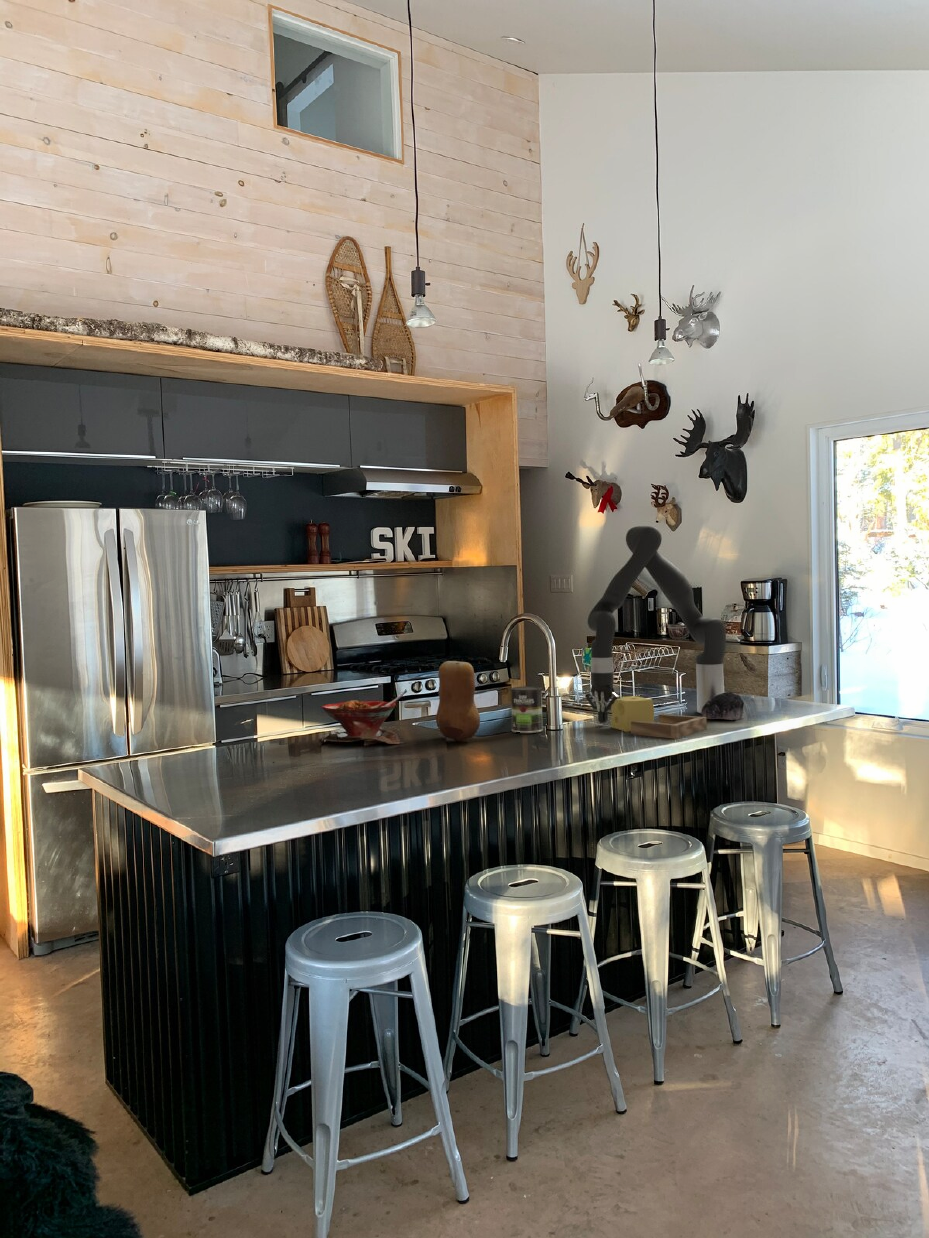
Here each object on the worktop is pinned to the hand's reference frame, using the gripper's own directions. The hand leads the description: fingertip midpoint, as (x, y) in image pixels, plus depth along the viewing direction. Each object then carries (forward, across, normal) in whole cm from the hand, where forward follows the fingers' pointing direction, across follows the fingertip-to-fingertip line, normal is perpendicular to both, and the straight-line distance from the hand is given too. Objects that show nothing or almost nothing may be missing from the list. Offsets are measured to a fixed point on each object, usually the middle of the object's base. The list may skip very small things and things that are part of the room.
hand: (602, 722), depth 318 cm
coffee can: (+2, +16, +20) cm, 26 cm away
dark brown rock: (+1, -28, -30) cm, 41 cm away
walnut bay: (+1, -25, 0) cm, 25 cm away
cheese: (+1, -11, 0) cm, 11 cm away
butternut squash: (+2, +24, +45) cm, 51 cm away
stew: (+2, +48, +64) cm, 79 cm away
